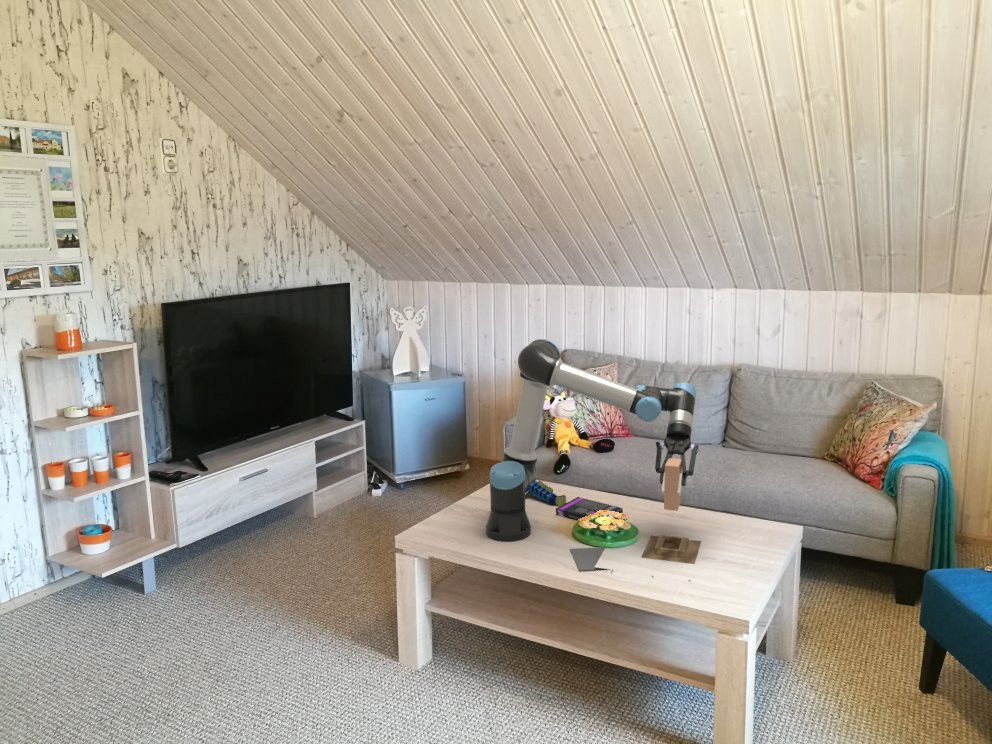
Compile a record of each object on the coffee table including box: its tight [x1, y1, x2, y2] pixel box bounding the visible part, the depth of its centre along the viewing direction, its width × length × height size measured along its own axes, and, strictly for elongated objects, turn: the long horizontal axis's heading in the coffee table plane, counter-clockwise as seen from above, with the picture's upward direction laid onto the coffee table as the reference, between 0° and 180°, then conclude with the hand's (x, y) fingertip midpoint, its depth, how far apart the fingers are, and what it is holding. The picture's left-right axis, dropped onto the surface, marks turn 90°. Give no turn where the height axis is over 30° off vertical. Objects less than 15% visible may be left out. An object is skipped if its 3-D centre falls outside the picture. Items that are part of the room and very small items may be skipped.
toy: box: [525, 475, 567, 507], centre depth 300 cm, size 14×25×10 cm, turn 39°
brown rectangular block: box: [663, 458, 682, 512], centre depth 247 cm, size 4×8×14 cm, turn 160°
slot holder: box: [641, 534, 702, 565], centre depth 251 cm, size 16×18×4 cm
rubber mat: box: [569, 546, 612, 572], centre depth 248 cm, size 16×16×1 cm
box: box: [555, 496, 624, 521], centre depth 285 cm, size 14×4×20 cm
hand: (671, 493), depth 244 cm, fingers closed on brown rectangular block, 4 cm apart
